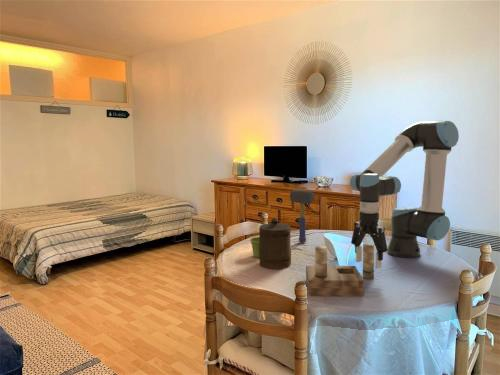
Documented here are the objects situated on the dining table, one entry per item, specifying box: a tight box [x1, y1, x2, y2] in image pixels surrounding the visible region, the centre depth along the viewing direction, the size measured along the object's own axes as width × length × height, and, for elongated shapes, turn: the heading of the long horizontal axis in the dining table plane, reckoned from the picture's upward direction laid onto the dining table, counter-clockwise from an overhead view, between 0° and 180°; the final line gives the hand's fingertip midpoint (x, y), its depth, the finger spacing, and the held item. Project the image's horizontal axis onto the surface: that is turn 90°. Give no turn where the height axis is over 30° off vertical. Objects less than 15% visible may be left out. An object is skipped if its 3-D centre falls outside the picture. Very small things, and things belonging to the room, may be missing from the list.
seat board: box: [305, 245, 365, 297], centre depth 145 cm, size 20×16×17 cm
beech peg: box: [362, 243, 375, 280], centre depth 155 cm, size 5×5×14 cm
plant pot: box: [249, 236, 260, 259], centre depth 188 cm, size 9×9×9 cm
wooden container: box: [258, 217, 292, 270], centre depth 175 cm, size 15×15×22 cm
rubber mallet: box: [289, 189, 315, 244], centre depth 208 cm, size 12×8×30 cm, turn 53°
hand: (368, 264), depth 155 cm, fingers open, 9 cm apart
